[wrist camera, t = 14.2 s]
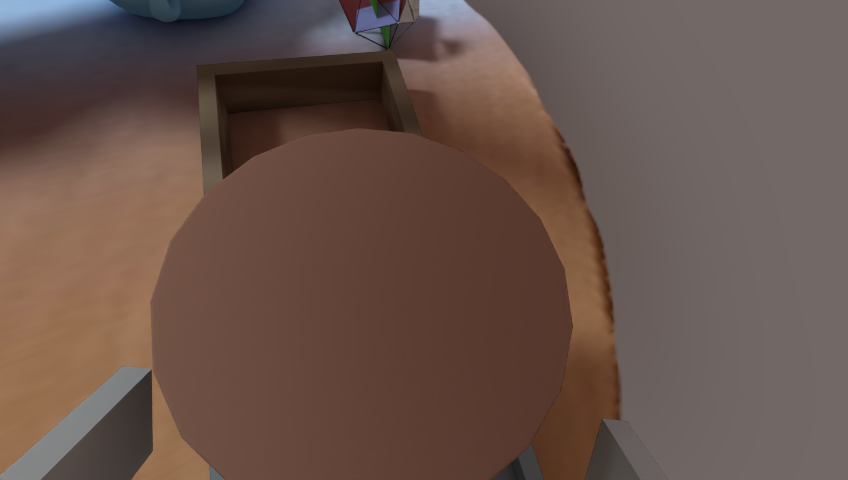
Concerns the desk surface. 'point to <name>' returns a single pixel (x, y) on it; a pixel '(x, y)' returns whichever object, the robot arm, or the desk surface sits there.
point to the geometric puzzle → (379, 15)
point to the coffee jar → (361, 315)
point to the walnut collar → (293, 95)
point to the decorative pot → (179, 8)
